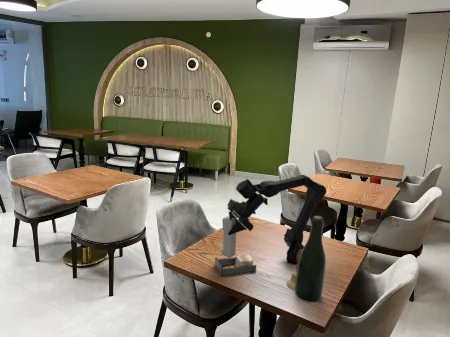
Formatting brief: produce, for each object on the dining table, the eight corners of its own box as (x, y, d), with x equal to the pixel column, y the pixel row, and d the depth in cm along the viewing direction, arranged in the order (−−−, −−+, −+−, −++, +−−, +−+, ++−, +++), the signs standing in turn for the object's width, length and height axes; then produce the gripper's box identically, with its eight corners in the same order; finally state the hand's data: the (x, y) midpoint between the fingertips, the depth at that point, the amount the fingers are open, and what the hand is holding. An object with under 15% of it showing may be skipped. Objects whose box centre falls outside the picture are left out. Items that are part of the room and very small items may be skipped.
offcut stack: (247, 263, 154) (248, 254, 153) (253, 270, 148) (254, 260, 147) (235, 265, 152) (235, 255, 150) (240, 272, 146) (240, 262, 145)
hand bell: (302, 279, 142) (305, 244, 139) (310, 290, 134) (314, 254, 131) (283, 280, 141) (286, 245, 137) (290, 291, 133) (294, 255, 129)
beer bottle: (301, 283, 138) (311, 209, 130) (326, 294, 132) (337, 217, 124) (289, 295, 130) (298, 216, 122) (314, 307, 124) (326, 225, 116)
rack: (248, 261, 155) (248, 253, 154) (255, 272, 147) (256, 263, 146) (214, 265, 150) (215, 257, 149) (220, 276, 142) (221, 268, 141)
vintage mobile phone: (226, 251, 149) (228, 198, 143) (235, 255, 146) (237, 200, 140) (221, 254, 146) (223, 199, 141) (229, 258, 143) (232, 202, 138)
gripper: (232, 187, 149) (208, 212, 148) (247, 200, 132) (220, 228, 131) (247, 202, 154) (224, 227, 153) (264, 217, 136) (238, 245, 135)
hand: (226, 231), depth 143 cm, fingers closed on vintage mobile phone, 6 cm apart
